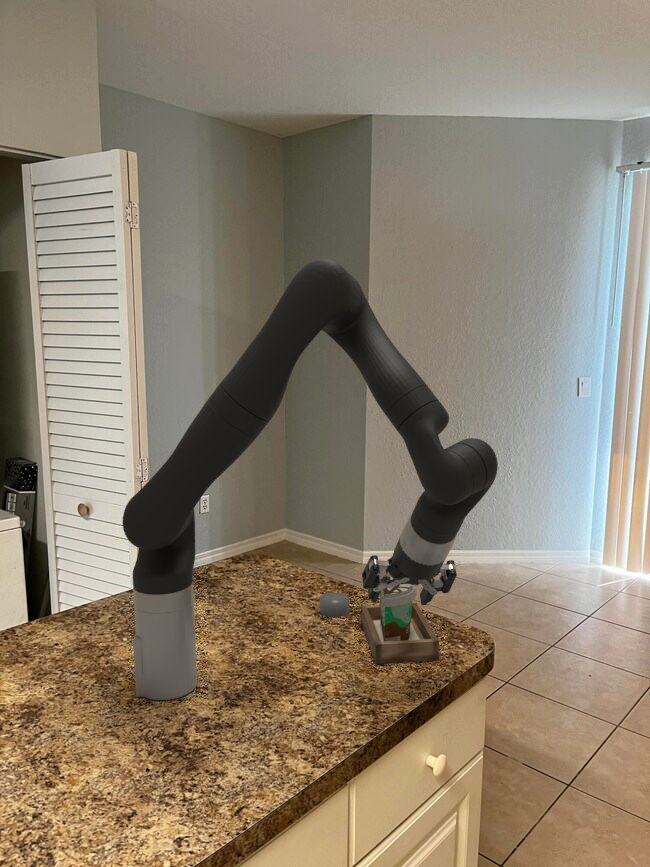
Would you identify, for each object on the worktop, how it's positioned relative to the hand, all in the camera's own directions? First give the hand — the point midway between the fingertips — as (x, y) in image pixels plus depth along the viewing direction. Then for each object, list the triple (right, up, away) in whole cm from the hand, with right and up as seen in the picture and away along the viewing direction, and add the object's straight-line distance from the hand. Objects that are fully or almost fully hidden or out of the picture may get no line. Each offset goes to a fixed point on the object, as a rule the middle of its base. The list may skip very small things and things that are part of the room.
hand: (397, 599), depth 115 cm
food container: (+2, -10, +12) cm, 15 cm away
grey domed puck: (-10, -9, +26) cm, 30 cm away
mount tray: (+1, -11, +12) cm, 16 cm away
